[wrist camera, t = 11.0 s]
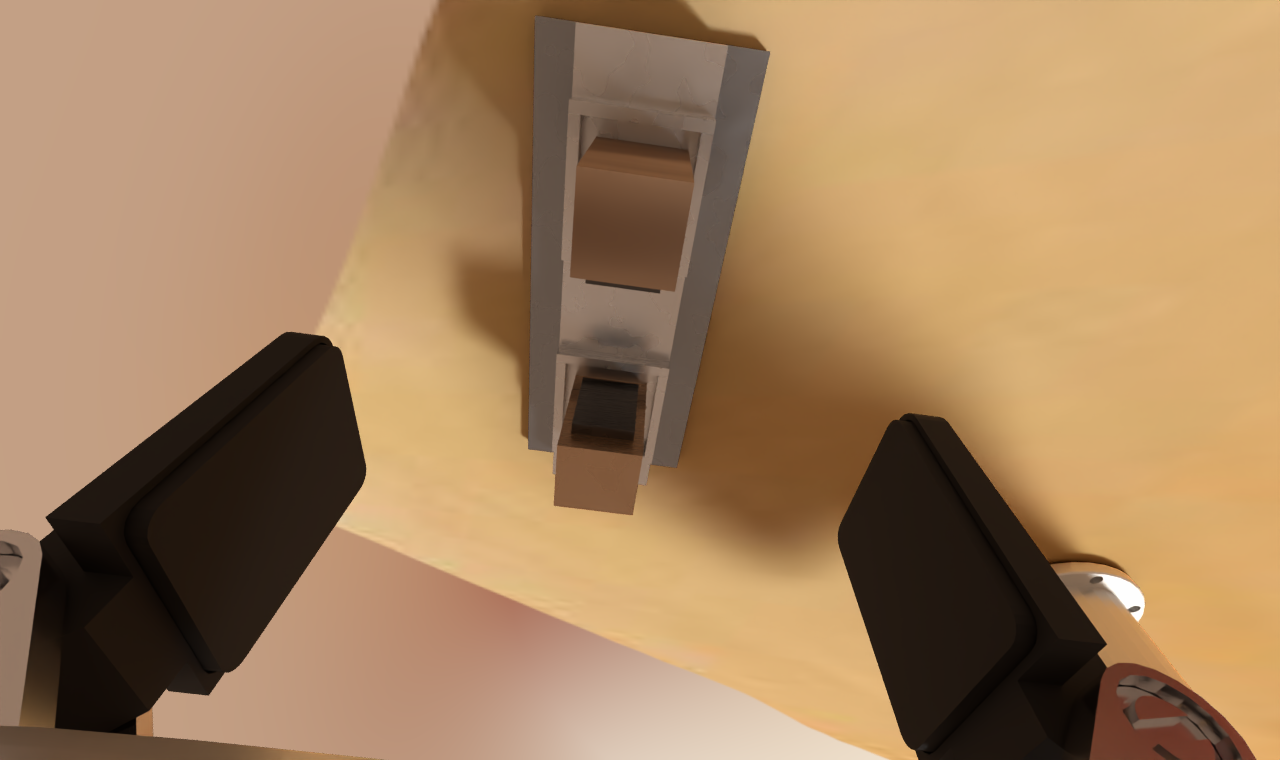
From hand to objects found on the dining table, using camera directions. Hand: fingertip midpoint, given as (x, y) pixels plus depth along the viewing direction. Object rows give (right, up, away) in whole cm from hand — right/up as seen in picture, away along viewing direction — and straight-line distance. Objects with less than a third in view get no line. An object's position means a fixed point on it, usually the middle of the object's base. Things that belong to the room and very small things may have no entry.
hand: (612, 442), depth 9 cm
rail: (0, +6, +20) cm, 21 cm away
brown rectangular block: (0, +10, +15) cm, 18 cm away
